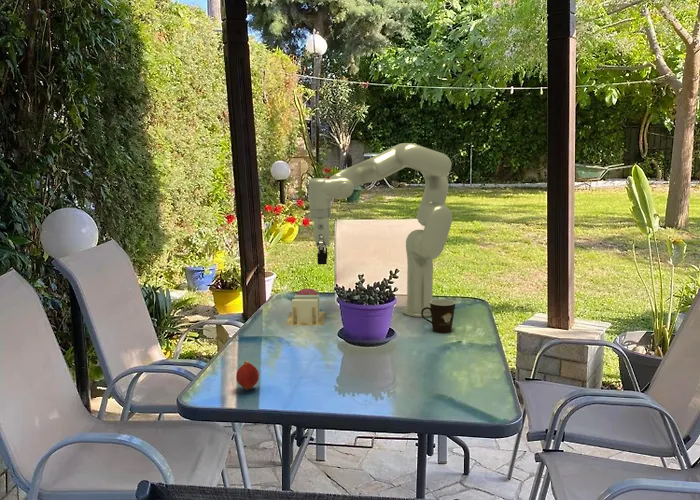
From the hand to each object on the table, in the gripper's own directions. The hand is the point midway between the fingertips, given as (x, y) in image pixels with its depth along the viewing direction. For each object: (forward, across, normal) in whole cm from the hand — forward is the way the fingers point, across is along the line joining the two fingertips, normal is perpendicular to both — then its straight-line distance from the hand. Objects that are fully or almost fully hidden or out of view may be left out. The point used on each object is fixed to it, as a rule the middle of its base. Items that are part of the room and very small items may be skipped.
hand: (322, 261), depth 227 cm
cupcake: (+22, +21, +8) cm, 32 cm away
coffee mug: (+24, -12, -39) cm, 47 cm away
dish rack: (+22, -1, +7) cm, 23 cm away
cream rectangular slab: (+20, -6, +7) cm, 22 cm away
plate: (+20, +4, +7) cm, 22 cm away
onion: (+21, -63, +19) cm, 69 cm away
